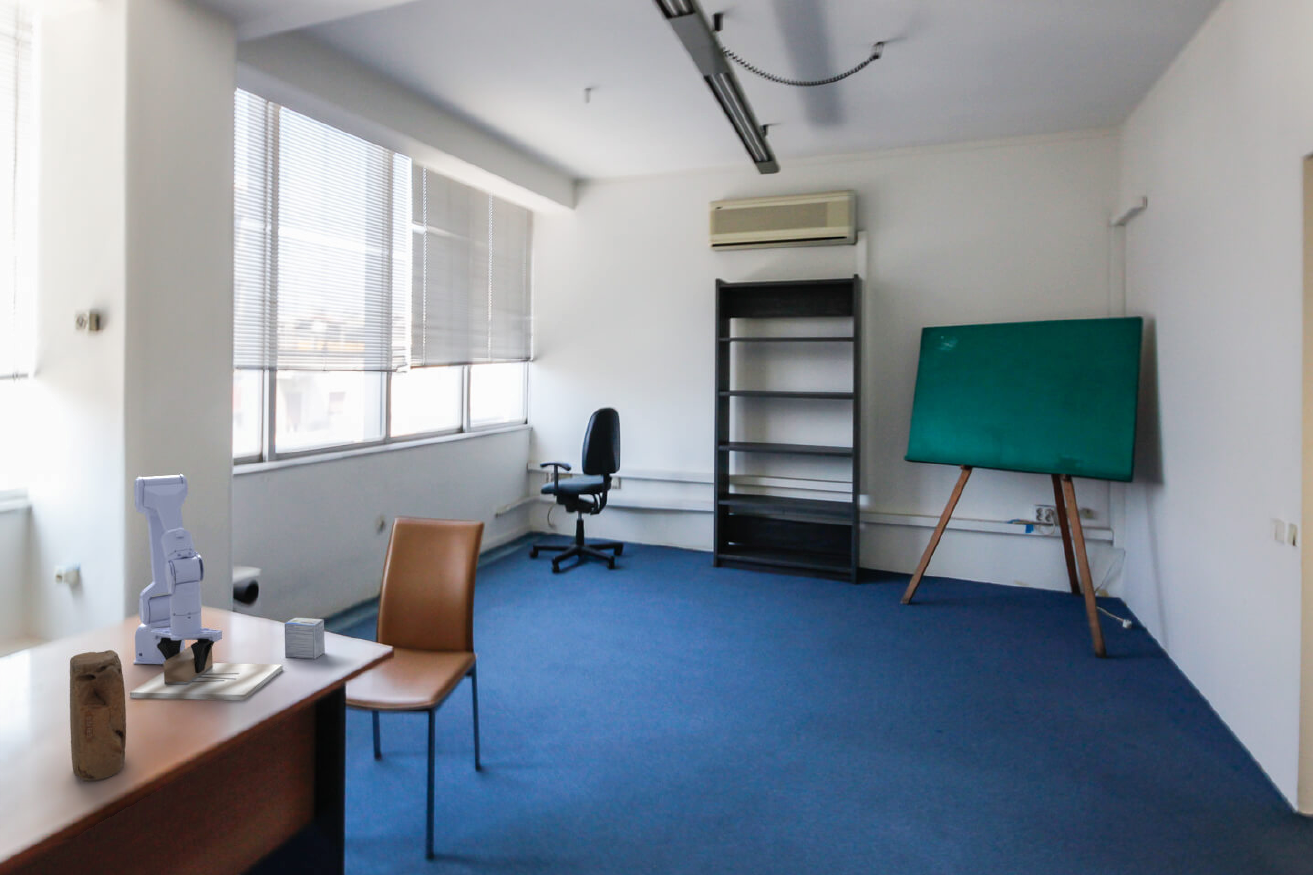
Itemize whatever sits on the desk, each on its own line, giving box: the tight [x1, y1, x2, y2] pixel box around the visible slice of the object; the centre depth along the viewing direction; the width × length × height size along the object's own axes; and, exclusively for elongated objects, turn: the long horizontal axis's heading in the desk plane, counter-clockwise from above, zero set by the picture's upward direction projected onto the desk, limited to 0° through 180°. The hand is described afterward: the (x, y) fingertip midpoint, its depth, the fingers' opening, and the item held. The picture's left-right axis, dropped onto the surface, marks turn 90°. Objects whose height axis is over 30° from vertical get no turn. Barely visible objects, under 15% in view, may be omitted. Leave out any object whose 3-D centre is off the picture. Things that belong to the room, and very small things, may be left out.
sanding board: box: [129, 662, 284, 701], centre depth 160 cm, size 24×16×1 cm, turn 91°
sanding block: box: [163, 645, 214, 685], centre depth 161 cm, size 5×9×5 cm, turn 1°
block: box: [69, 649, 127, 782], centre depth 125 cm, size 11×8×20 cm
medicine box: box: [284, 617, 326, 660], centre depth 177 cm, size 8×4×9 cm, turn 84°
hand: (187, 671), depth 160 cm, fingers closed on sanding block, 5 cm apart
